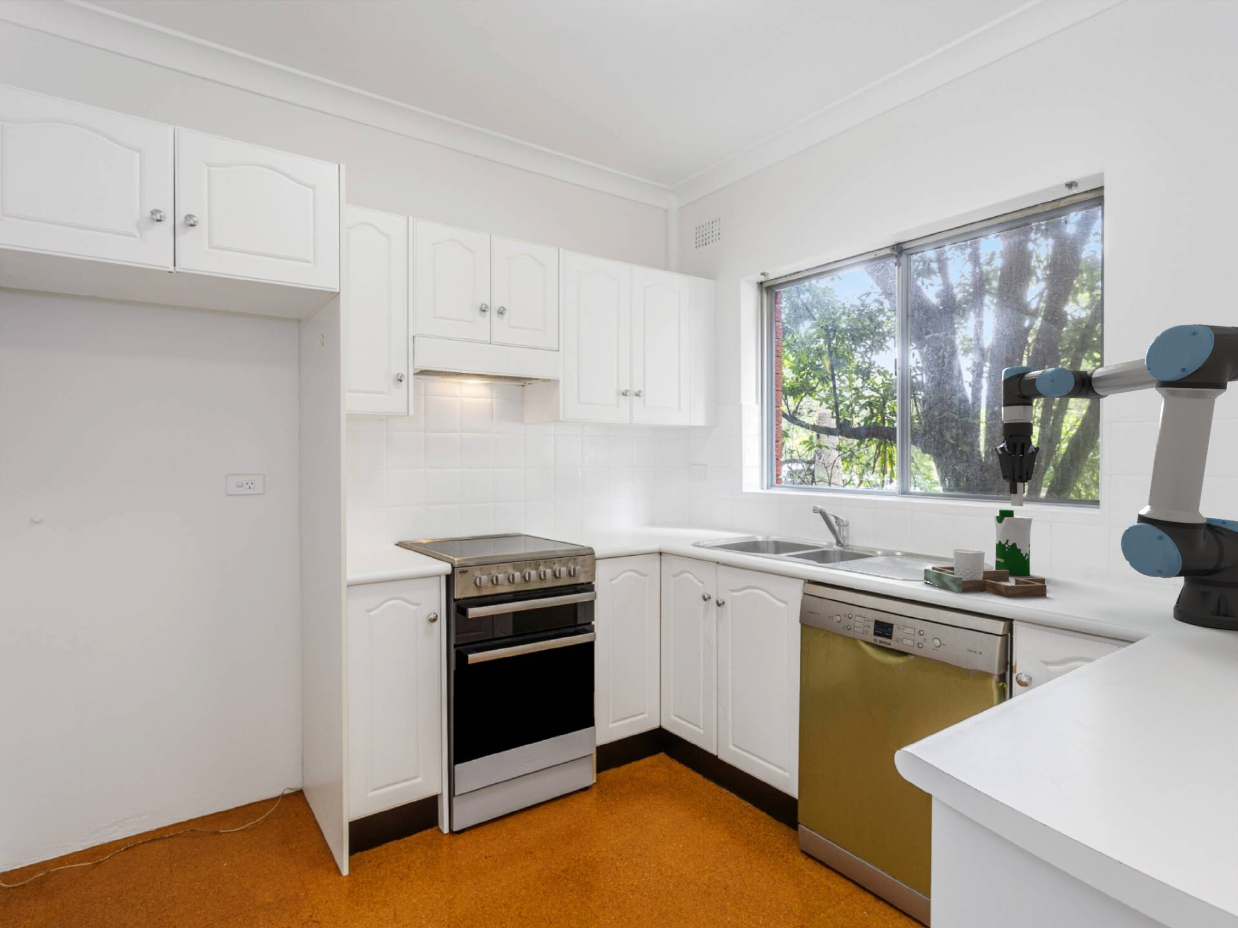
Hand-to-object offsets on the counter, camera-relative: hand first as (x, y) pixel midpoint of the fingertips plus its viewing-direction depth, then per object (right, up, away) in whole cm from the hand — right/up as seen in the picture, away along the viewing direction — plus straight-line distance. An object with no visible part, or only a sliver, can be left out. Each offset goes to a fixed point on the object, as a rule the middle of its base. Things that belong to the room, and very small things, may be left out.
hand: (1017, 505), depth 189 cm
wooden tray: (-8, -23, +1) cm, 24 cm away
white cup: (-13, -23, +1) cm, 27 cm away
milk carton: (+11, -23, +22) cm, 33 cm away
